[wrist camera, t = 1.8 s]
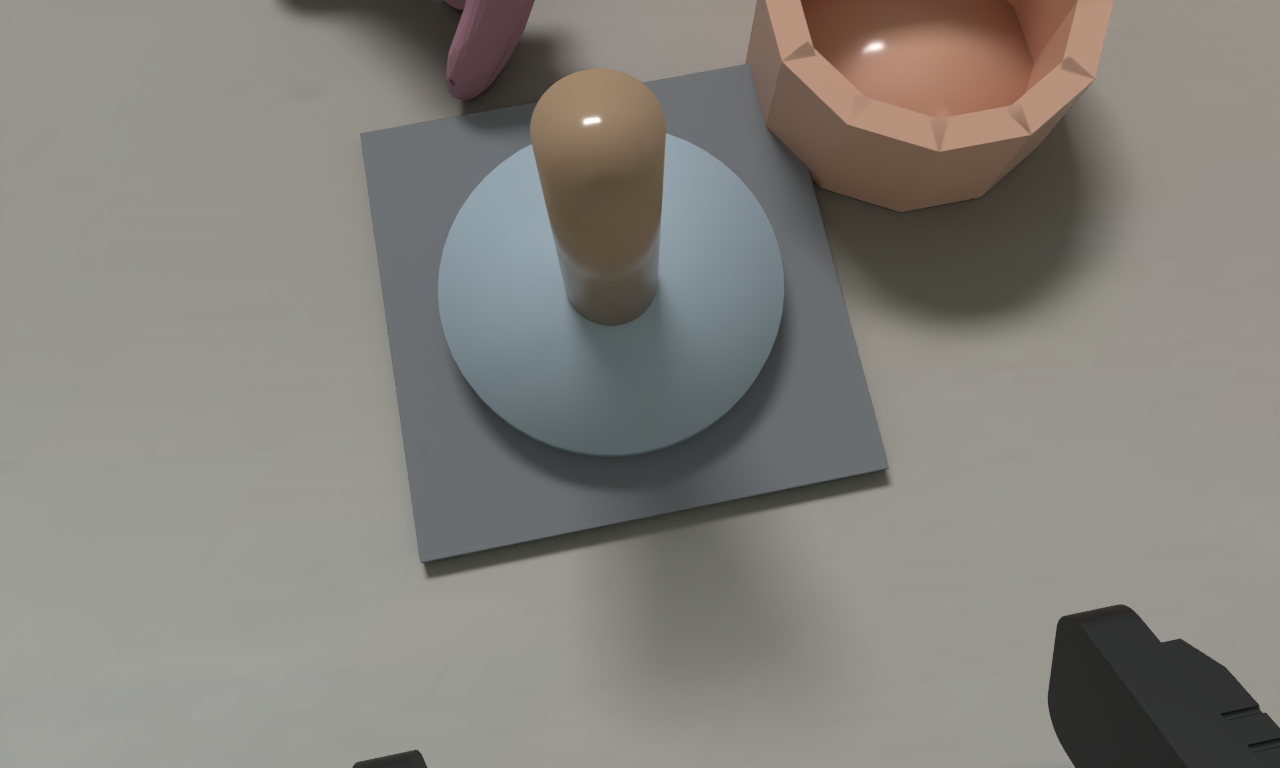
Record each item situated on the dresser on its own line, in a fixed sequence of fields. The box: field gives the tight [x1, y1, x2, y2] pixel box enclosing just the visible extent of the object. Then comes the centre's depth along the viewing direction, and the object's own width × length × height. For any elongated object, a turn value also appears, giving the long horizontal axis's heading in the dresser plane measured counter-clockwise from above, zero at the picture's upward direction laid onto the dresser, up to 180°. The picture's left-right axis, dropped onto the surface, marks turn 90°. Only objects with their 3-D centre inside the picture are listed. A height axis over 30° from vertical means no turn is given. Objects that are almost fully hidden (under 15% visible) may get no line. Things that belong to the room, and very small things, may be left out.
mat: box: [360, 64, 889, 563], centre depth 29 cm, size 14×14×1 cm
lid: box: [438, 69, 784, 458], centre depth 24 cm, size 10×10×10 cm
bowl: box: [746, 0, 1114, 212], centre depth 29 cm, size 10×10×4 cm
